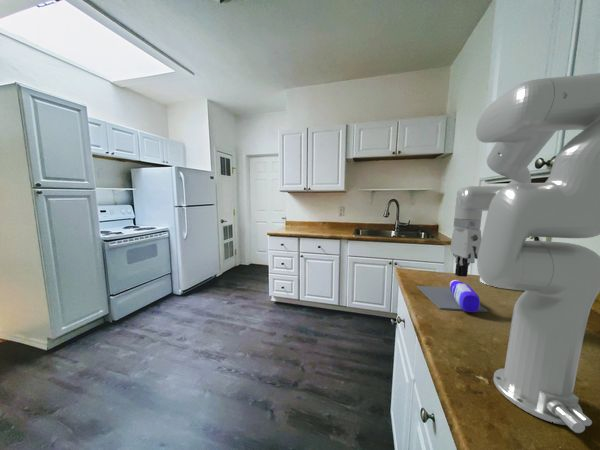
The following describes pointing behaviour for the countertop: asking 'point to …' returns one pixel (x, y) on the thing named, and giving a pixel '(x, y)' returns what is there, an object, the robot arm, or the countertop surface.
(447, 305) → the mat
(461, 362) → the countertop surface
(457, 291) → the bottle
